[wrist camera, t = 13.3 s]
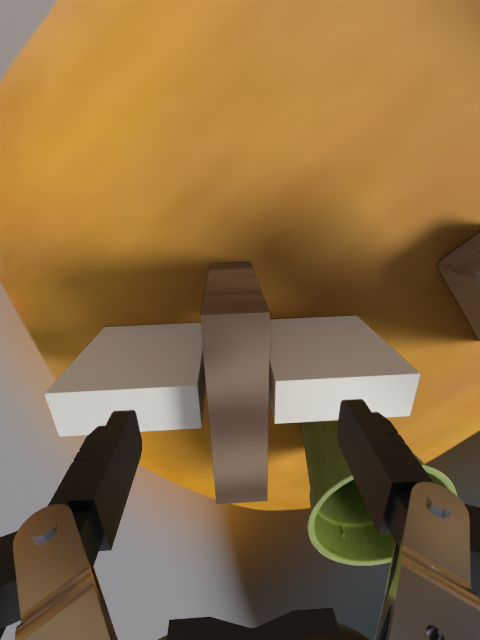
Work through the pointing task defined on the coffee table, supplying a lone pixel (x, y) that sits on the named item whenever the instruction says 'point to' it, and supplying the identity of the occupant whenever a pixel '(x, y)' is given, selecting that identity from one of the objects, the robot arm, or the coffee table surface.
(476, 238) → the decorative block
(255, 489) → the walnut notched plate
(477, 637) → the robot arm
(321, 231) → the coffee table surface
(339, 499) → the plant pot
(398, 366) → the white notched plate
